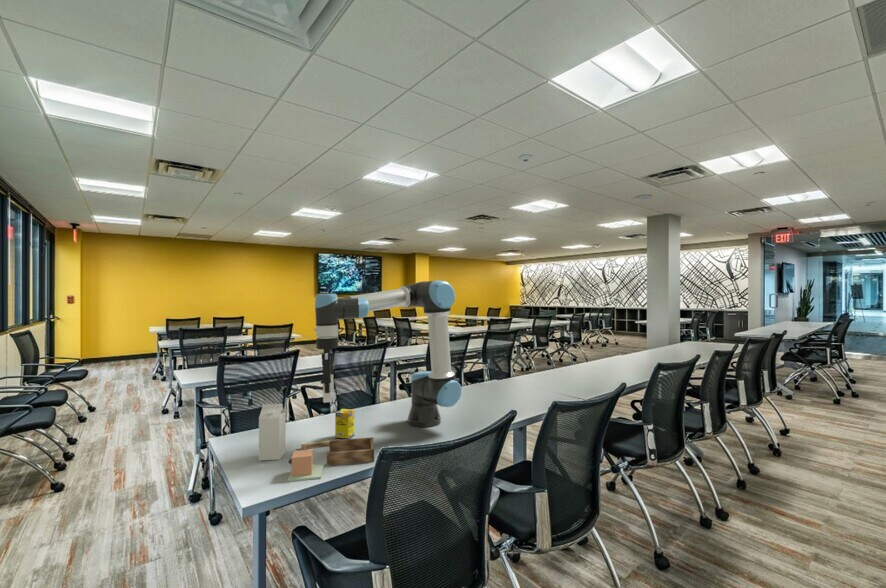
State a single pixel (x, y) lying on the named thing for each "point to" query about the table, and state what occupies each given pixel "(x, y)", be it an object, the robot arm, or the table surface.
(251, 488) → the table surface
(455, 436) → the table surface
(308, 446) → the oak crook tool
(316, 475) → the felt pad
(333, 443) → the walnut stall
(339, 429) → the supplement box
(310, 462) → the terracotta block
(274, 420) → the milk carton
